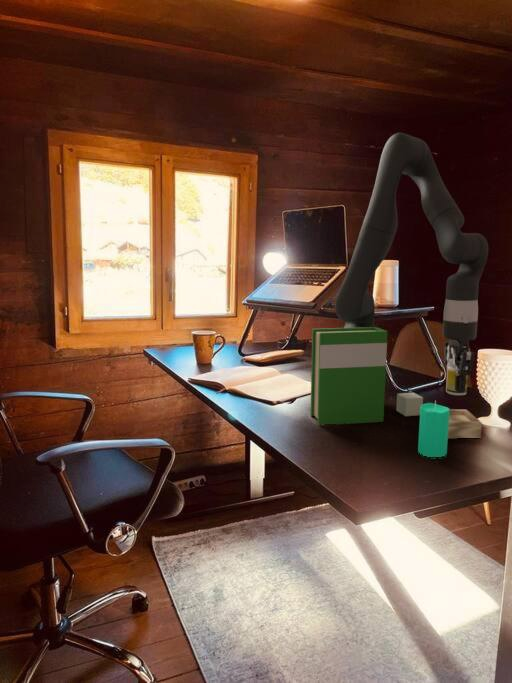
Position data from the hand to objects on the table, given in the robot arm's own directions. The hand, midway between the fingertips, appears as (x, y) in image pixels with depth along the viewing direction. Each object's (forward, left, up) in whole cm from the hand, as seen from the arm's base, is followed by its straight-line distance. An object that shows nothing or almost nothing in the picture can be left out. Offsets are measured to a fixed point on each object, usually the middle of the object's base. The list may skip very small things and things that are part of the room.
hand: (456, 387), depth 120 cm
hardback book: (-25, +8, -11) cm, 29 cm away
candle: (-9, -14, -11) cm, 20 cm away
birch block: (0, 0, -11) cm, 11 cm away
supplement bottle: (0, 0, -2) cm, 2 cm away
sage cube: (-7, +14, -11) cm, 19 cm away
